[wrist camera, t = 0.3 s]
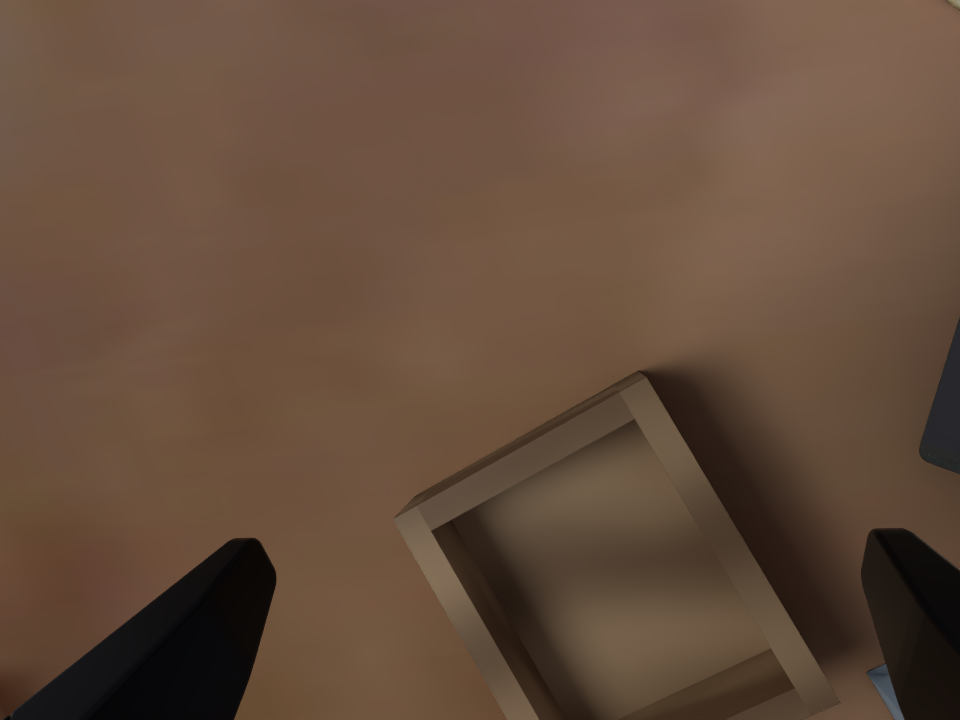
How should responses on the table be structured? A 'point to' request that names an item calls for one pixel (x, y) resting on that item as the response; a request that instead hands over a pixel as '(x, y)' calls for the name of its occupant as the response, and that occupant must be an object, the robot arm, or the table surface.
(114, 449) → the table surface
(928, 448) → the grey and red box
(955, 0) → the hand bell
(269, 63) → the table surface
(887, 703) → the small crate
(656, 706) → the walnut crate
